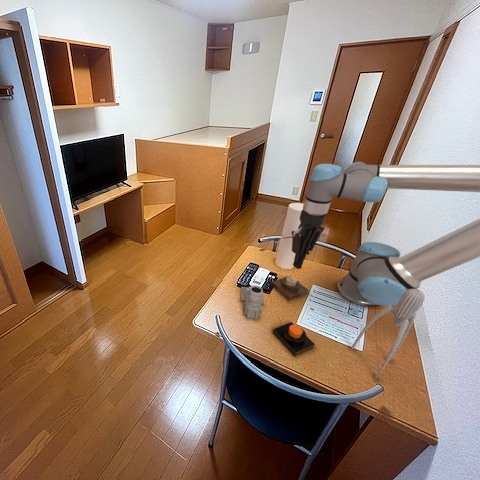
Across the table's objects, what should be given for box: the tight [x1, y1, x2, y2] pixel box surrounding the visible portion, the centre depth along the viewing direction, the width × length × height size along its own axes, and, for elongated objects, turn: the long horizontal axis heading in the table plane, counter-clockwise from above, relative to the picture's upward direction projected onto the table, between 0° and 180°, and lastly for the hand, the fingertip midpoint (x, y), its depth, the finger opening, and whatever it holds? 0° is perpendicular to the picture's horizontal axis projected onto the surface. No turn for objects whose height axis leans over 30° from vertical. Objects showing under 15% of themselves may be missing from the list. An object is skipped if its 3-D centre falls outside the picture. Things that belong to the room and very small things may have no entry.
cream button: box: [286, 275, 298, 286], centre depth 108 cm, size 4×4×2 cm
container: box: [274, 202, 304, 270], centre depth 118 cm, size 9×9×30 cm
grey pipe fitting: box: [239, 284, 264, 320], centre depth 100 cm, size 9×12×15 cm
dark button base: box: [272, 321, 316, 357], centre depth 88 cm, size 8×10×4 cm
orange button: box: [288, 324, 304, 338], centre depth 86 cm, size 4×4×2 cm
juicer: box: [350, 288, 425, 380], centre depth 73 cm, size 10×9×30 cm
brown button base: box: [270, 275, 309, 302], centre depth 109 cm, size 10×10×4 cm
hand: (296, 266), depth 100 cm, fingers closed
